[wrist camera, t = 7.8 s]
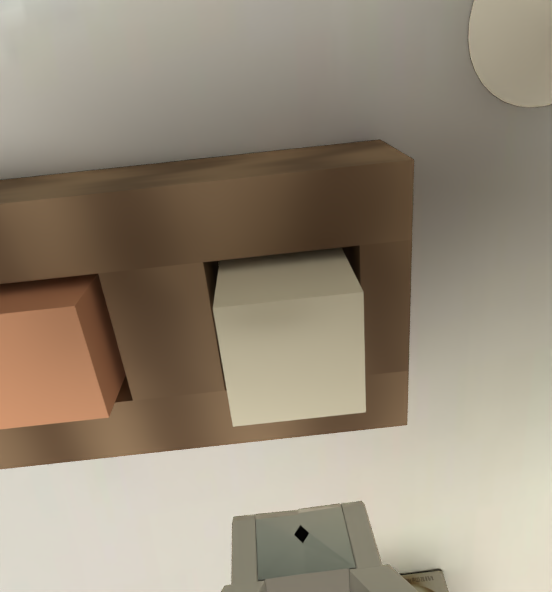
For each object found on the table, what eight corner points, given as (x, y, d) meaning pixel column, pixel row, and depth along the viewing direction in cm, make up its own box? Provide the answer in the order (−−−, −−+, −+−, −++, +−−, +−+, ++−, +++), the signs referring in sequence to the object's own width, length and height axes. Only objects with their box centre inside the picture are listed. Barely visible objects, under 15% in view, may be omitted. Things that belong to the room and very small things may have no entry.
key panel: (380, 139, 22) (414, 159, 17) (380, 364, 27) (407, 424, 23) (-67, 187, 22) (-150, 219, 17) (19, 403, 27) (-27, 472, 23)
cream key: (338, 241, 21) (363, 292, 16) (342, 343, 23) (366, 412, 18) (220, 254, 21) (212, 307, 16) (236, 354, 23) (232, 426, 18)
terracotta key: (110, 255, 22) (74, 306, 17) (135, 350, 24) (108, 417, 20) (-2, 267, 22) (-67, 321, 17) (33, 362, 24) (-16, 431, 20)
